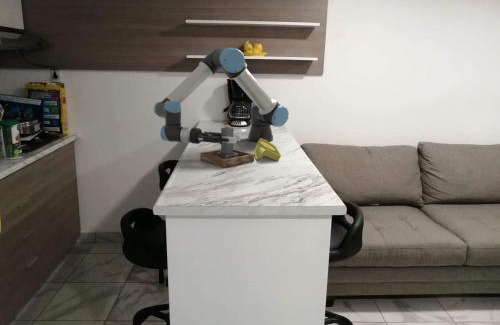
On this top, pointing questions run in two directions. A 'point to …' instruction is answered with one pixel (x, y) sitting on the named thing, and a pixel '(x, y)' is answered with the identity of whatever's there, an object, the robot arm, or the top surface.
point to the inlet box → (227, 158)
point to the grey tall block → (227, 147)
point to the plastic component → (266, 150)
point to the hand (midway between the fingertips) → (237, 139)
